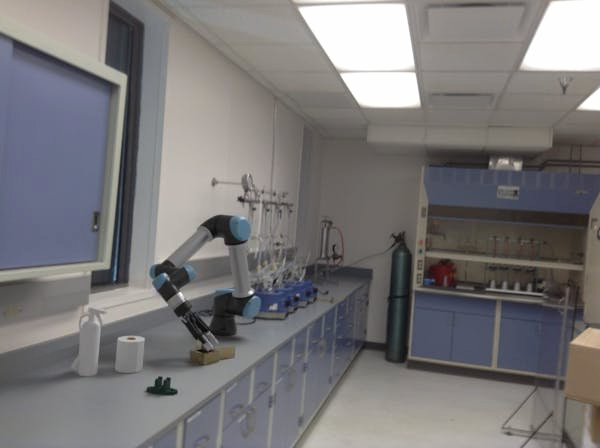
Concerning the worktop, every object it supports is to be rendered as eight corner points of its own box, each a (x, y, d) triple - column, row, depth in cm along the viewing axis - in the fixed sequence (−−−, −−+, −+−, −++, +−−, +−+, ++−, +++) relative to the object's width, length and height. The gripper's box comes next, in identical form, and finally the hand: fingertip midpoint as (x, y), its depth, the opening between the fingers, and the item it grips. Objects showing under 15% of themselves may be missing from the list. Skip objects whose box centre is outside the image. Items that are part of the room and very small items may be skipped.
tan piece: (208, 348, 245) (209, 339, 245) (236, 357, 234) (237, 347, 234) (175, 355, 229) (175, 345, 229) (203, 365, 219) (204, 354, 218)
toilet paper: (134, 374, 199) (136, 343, 199) (109, 371, 202) (112, 339, 201) (147, 367, 209) (149, 337, 209) (123, 364, 211) (126, 334, 211)
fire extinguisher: (77, 367, 202) (83, 303, 200) (105, 373, 199) (111, 308, 197) (65, 372, 195) (71, 306, 194) (94, 379, 192) (100, 311, 191)
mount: (179, 392, 186) (180, 378, 185) (175, 396, 181) (176, 381, 181) (149, 388, 186) (150, 374, 186) (144, 392, 182) (145, 378, 182)
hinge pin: (204, 359, 227) (206, 331, 227) (210, 361, 225) (212, 333, 225) (198, 360, 224) (200, 332, 224) (203, 362, 222) (206, 334, 222)
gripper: (181, 306, 236) (213, 346, 235) (164, 314, 216) (199, 358, 214) (194, 296, 236) (226, 336, 234) (177, 303, 215) (213, 347, 214)
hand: (213, 346), depth 224 cm, fingers open, 7 cm apart
